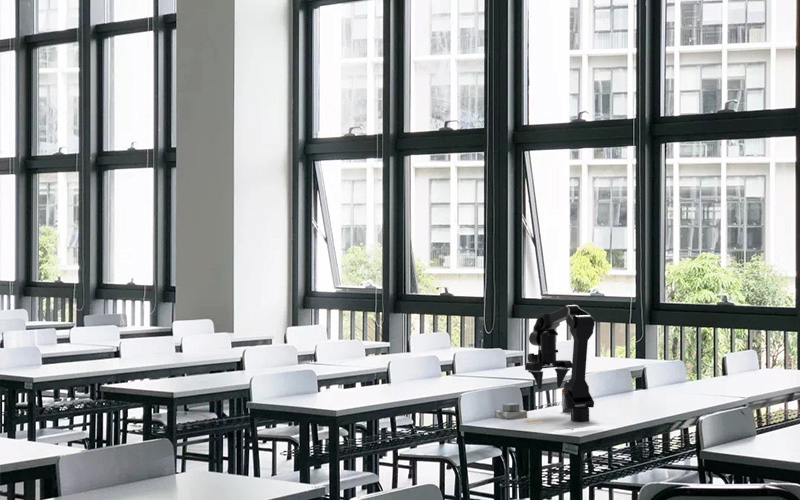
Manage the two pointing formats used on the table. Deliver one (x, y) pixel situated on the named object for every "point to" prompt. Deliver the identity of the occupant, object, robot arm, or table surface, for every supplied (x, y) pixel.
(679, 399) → the table surface
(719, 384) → the table surface
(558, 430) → the table surface
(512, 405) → the grey angular block
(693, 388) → the table surface
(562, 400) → the supplement bottle
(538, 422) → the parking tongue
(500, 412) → the rack board
